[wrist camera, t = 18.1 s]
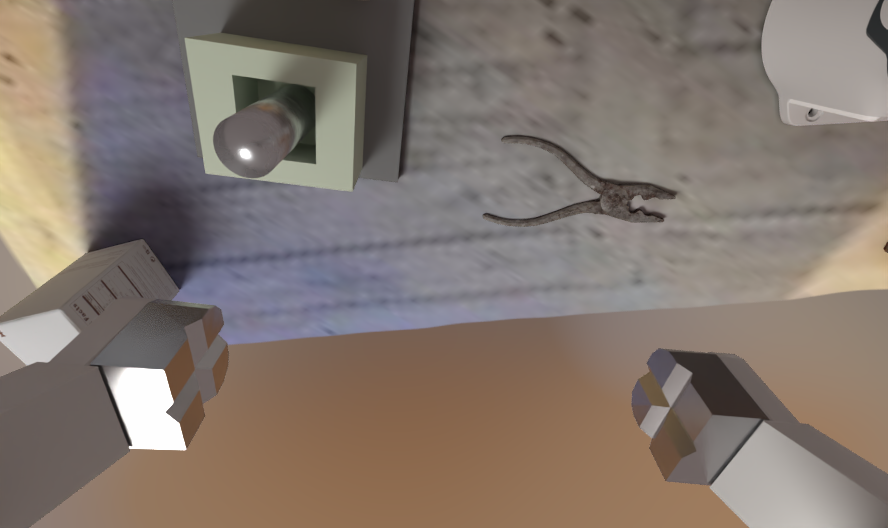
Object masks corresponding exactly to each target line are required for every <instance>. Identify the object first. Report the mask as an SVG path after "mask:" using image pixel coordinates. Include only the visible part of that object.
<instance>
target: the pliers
mask: <svg viewBox="0 0 888 528" xmlns="http://www.w3.org/2000/svg"><path fill="white" fill-rule="evenodd" d="M501 141H502V142H503V143H521V144H529V145H532V146H536V147H539V148H542V149H544V150H547V151H548V152H550V153H552V154H554V155H555V156H556V157H557V158H559V159H560V160H561V161H562V162H563V163H564V164H565V165H566V166H567V167H568V168H569V169H570V170H571V171H572V172H573V173H574V174H575V175H576V176H577V177H578V178H579V179H580V180H581V181H582V182H583V183H584V184H585V185H587V186H588V187H590V188H591V189H593V190H594V191H596V192H597V193H599V194H601V195H600V199H599V200H593V201H588V202H583V203H578V204H574V205H571V206H568V207H566V208H563V209H560V210H558V211H555V212H552V213H549V214H547V215H544V216H540V217H537V218H533V219H527V220H509V219H503V218H498V217H495V216H492V215H488V214H484V215H483V218H484V219H486V220H488V221H491V222H494V223H497V224H501V225H507V226H520V227H526V226H535V225H540V224H544V223H548V222H551V221H554V220H558V219H561V218H564V217H568V216H572V215H576V214H581V213H594V214H606V215H609V216H612V217H615V218H618V219H622V220H625V221H628V222H664V219H662V218H660V217H658V216H655V215H653V214H644V213H643V212H642V211H641V210H640V209H636V210H635V211H633V212H629V211H628V209H629V206H628V205H627V202H628V200H632V199H633V198H634V196H637V195H641V196H642V198H643V199H644V200H648V199H651V198H652V197H656V198H659V199H675V196H674V195H672V194H670V193H667V192H665V191H663V190H660V189H658V188H656V187H654V186H651V185H649V184H614V183H611V182H607V181H603V180H601V179H598V178H596V177H595V176H593V175H591V174H590V173H589V172H587V171H586V170H585V169H584V168H583V167H582V166H580V165H579V164H578V163H577V162H576V161H575V160H574V159H572V158H571V157H570V156H569V155H568V154H567V153H566V152H564V151H563V150H561V149H560V148H559V147H557V146H555V145H553V144H551V143H548V142H545V141H542V140H539V139H535V138H530V137H522V136H508V137H503V138H502V139H501Z"/></svg>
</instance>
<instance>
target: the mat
mask: <svg viewBox="0 0 888 528" xmlns="http://www.w3.org/2000/svg"><path fill="white" fill-rule="evenodd" d="M172 3H173V9H174V15H175V21H176V27H177V33H178V39H179V46H180V52H181V58H182V64H183V70H184V76H185V82H186V89H187V95H188V101H189V107H190V113H191V119H192V125H193V132H194V138H195V144H196V150H197V156H198V157H201V158H203V154H202V147H201V141H200V134H199V128H198V122H197V115H196V109H195V102H194V96H193V90H192V83H191V77H190V70H189V64H188V58H187V51H186V45H185V38H186V37H193V36H200V35H207V34H214V33H227V34H233V35H240V36H246V37H253V38H259V39H266V40H272V41H278V42H285V43H291V44H298V45H304V46H311V47H317V48H324V49H330V50H337V51H343V52H350V53H356V54H363V55H367V76H366V98H365V121H364V143H363V166H362V170H361V173H360V175H359V177H358V178H366V179H374V180H381V181H389V182H397V183H398V176H399V165H400V154H401V143H402V132H403V121H404V110H405V99H406V88H407V77H408V66H409V55H410V44H411V33H412V22H413V11H414V0H172Z"/></svg>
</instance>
